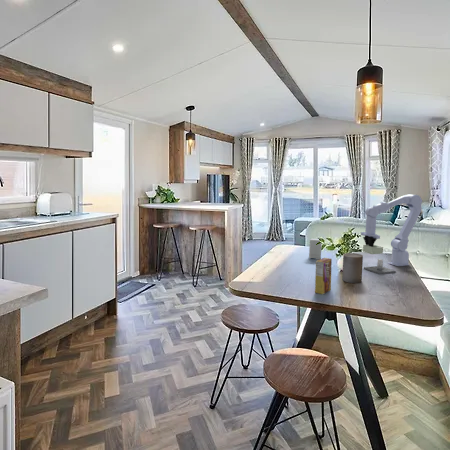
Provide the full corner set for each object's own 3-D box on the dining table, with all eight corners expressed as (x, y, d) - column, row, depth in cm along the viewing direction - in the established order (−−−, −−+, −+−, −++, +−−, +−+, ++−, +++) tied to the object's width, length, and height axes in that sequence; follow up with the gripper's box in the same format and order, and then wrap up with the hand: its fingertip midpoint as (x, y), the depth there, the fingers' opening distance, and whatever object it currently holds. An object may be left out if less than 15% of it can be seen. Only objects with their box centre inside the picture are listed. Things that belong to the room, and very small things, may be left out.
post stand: (380, 267, 217) (381, 256, 216) (395, 272, 206) (396, 261, 205) (363, 268, 213) (364, 258, 213) (378, 274, 202) (379, 262, 201)
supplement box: (320, 259, 236) (321, 240, 234) (309, 259, 238) (310, 239, 236) (320, 257, 243) (321, 238, 242) (308, 256, 245) (309, 238, 243)
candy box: (322, 288, 175) (324, 257, 173) (331, 290, 173) (332, 258, 171) (314, 292, 169) (315, 260, 167) (322, 294, 166) (324, 262, 164)
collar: (373, 250, 227) (373, 244, 226) (382, 253, 219) (383, 247, 219) (362, 251, 224) (363, 244, 223) (371, 254, 217) (372, 247, 216)
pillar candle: (361, 279, 192) (362, 251, 190) (361, 284, 183) (363, 254, 181) (342, 277, 195) (343, 250, 193) (341, 282, 186) (342, 253, 184)
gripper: (357, 225, 228) (356, 246, 230) (373, 228, 214) (372, 251, 216) (366, 225, 230) (365, 246, 232) (383, 228, 217) (381, 250, 219)
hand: (369, 248), depth 224 cm, fingers closed on collar
